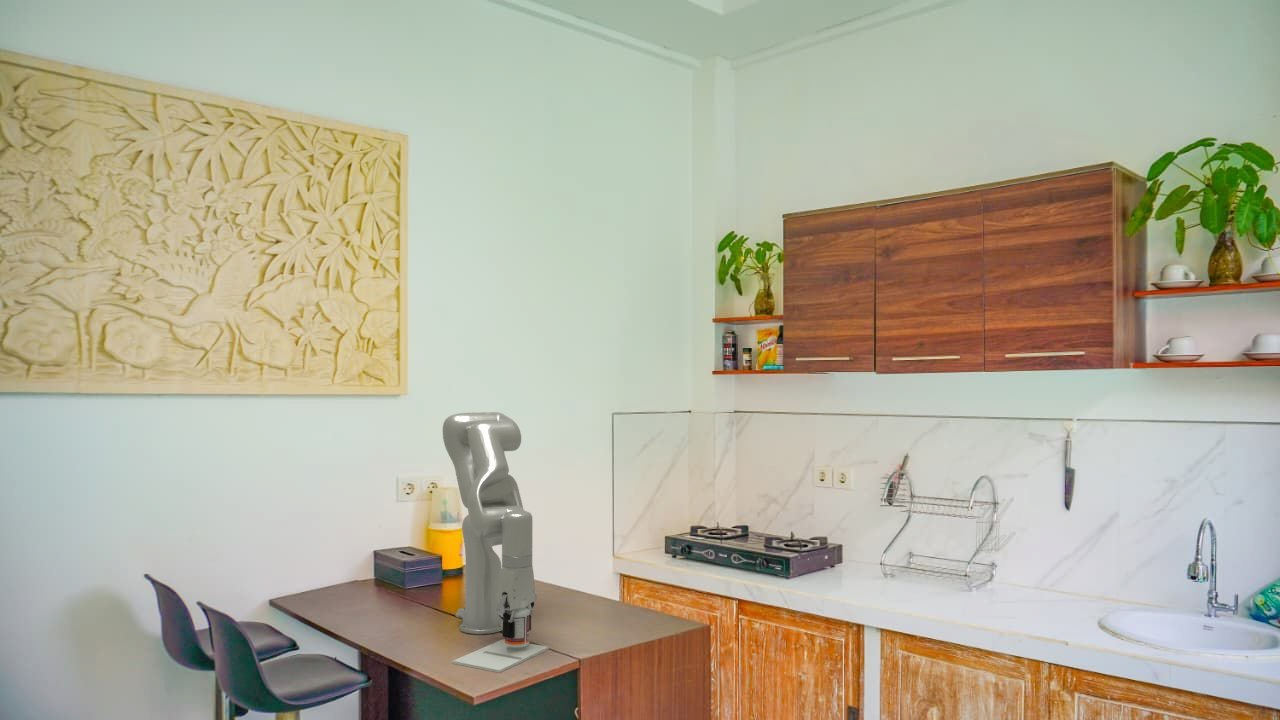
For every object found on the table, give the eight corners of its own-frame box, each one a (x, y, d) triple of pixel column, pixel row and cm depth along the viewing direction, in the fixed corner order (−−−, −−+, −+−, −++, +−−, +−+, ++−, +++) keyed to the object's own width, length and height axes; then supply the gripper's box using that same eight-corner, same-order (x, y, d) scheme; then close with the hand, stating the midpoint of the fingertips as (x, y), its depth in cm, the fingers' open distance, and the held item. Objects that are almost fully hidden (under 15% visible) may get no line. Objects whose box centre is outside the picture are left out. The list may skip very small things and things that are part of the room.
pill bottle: (518, 638, 230) (519, 594, 231) (534, 644, 226) (534, 598, 226) (499, 644, 226) (499, 598, 226) (515, 649, 222) (515, 603, 222)
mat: (452, 663, 217) (452, 660, 217) (503, 641, 234) (503, 638, 234) (499, 672, 210) (499, 669, 210) (548, 649, 228) (548, 646, 228)
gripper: (525, 553, 236) (525, 623, 236) (483, 566, 220) (483, 640, 220) (549, 556, 232) (549, 627, 232) (508, 569, 217) (508, 645, 217)
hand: (517, 633), depth 226 cm, fingers closed on pill bottle, 6 cm apart
